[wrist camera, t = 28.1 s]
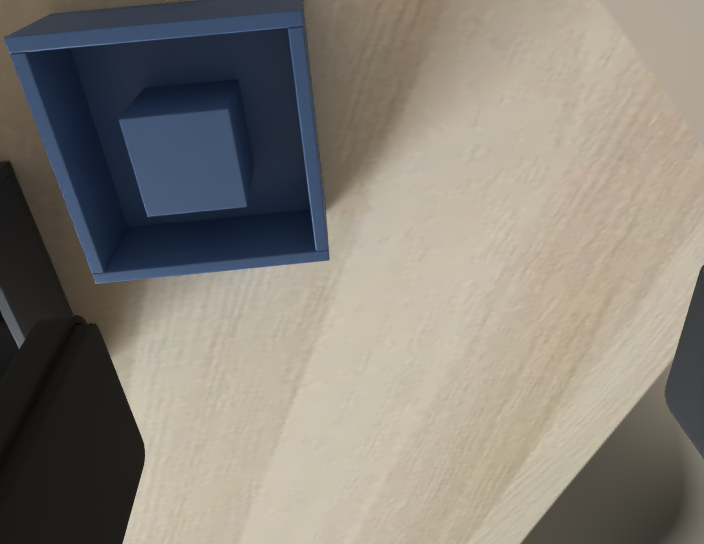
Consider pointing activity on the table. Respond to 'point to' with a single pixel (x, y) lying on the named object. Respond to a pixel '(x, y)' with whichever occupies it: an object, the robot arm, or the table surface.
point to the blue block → (189, 147)
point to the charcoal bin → (23, 271)
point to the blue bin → (168, 70)
